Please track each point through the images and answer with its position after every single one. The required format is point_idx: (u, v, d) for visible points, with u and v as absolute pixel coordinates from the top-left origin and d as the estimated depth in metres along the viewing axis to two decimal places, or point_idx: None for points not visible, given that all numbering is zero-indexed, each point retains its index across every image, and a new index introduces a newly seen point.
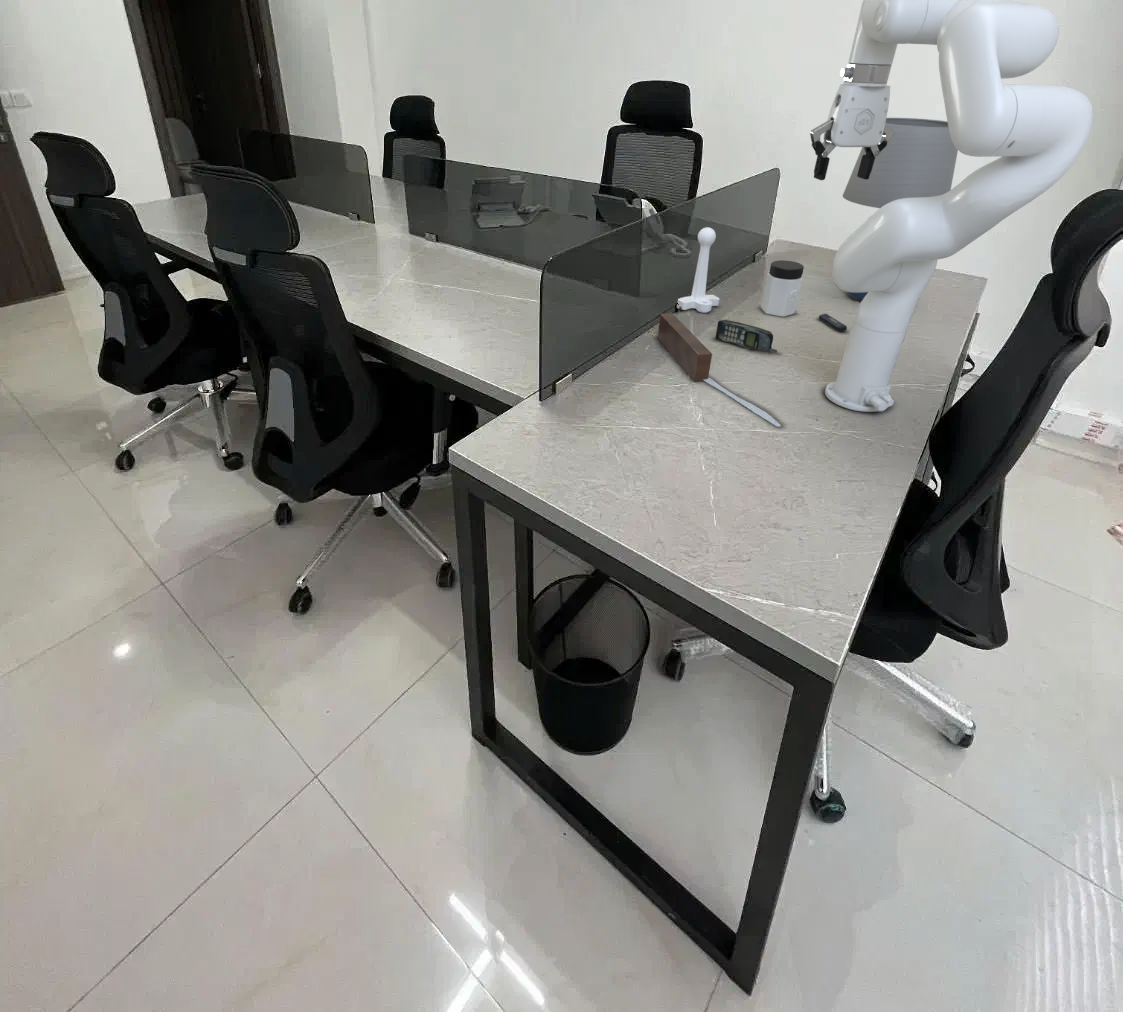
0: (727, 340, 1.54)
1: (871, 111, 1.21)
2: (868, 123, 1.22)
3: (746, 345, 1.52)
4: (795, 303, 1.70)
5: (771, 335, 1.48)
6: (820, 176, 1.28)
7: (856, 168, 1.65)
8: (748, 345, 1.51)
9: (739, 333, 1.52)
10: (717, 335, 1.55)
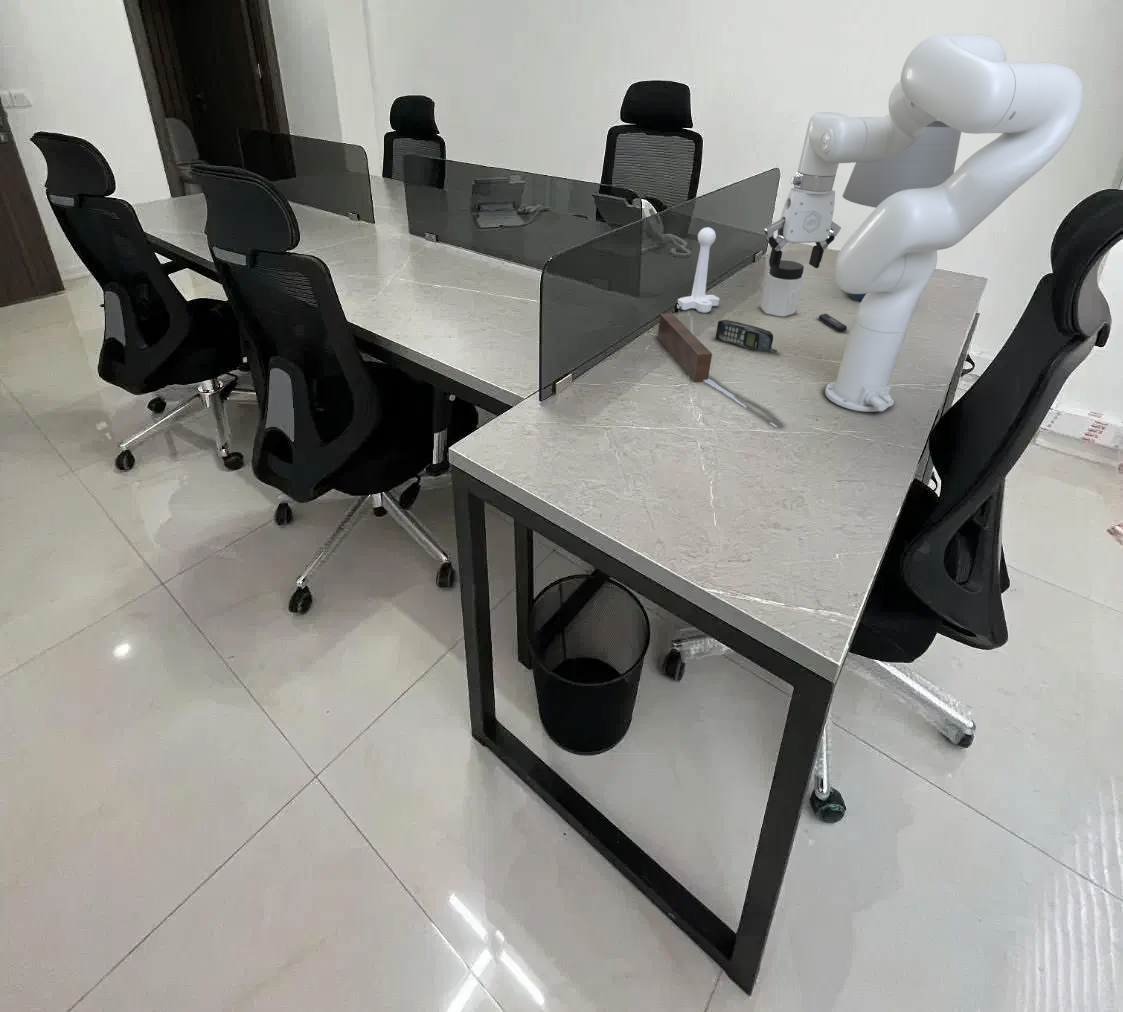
0: (727, 340, 1.54)
1: (818, 213, 1.36)
2: (816, 223, 1.37)
3: (746, 345, 1.52)
4: (795, 303, 1.70)
5: (771, 335, 1.48)
6: (774, 266, 1.43)
7: (856, 168, 1.65)
8: (748, 345, 1.51)
9: (739, 333, 1.52)
10: (717, 335, 1.55)
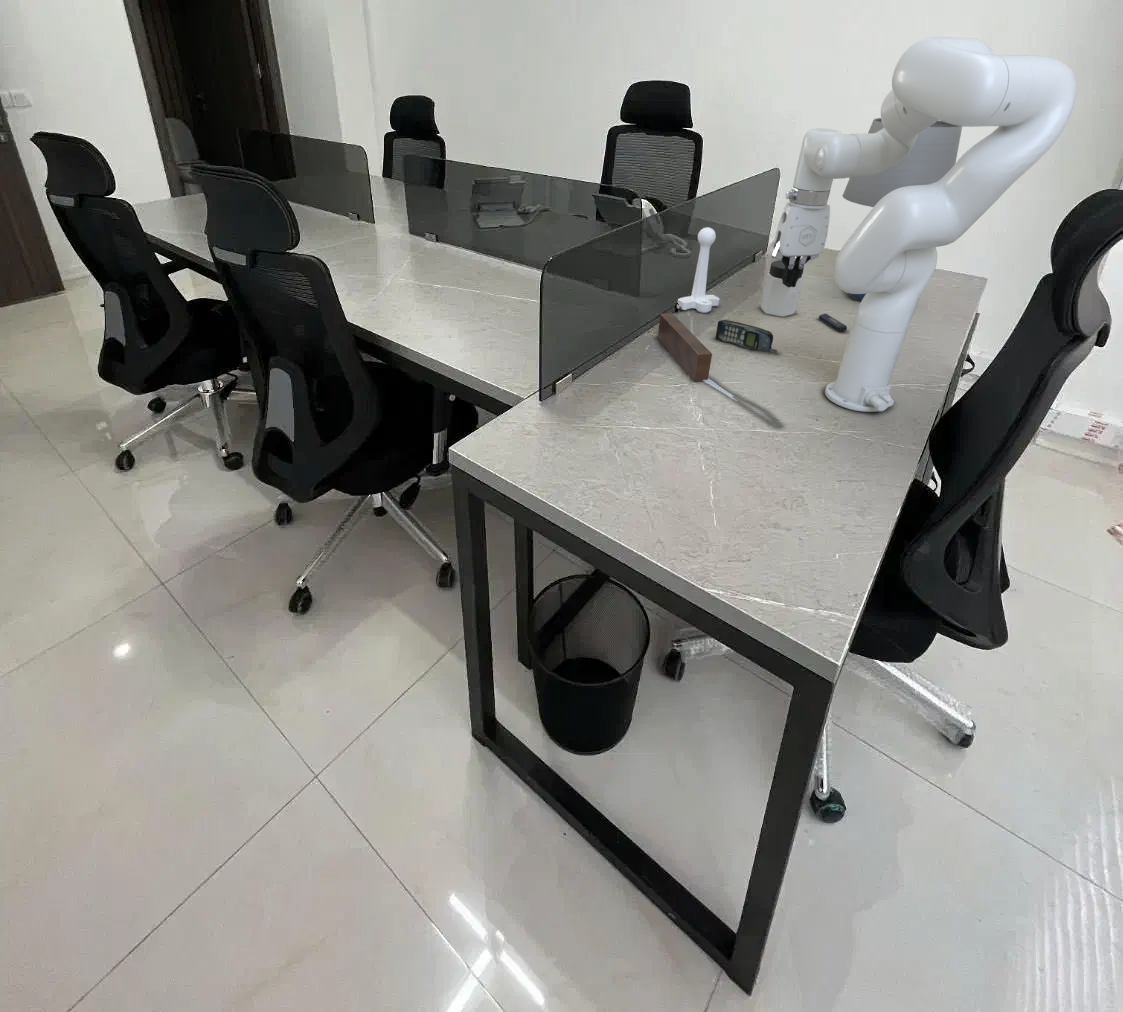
0: (727, 340, 1.54)
1: (813, 227, 1.37)
2: (811, 237, 1.39)
3: (746, 345, 1.52)
4: (795, 303, 1.70)
5: (771, 335, 1.48)
6: (787, 284, 1.46)
7: None
8: (748, 345, 1.51)
9: (739, 333, 1.52)
10: (717, 335, 1.55)
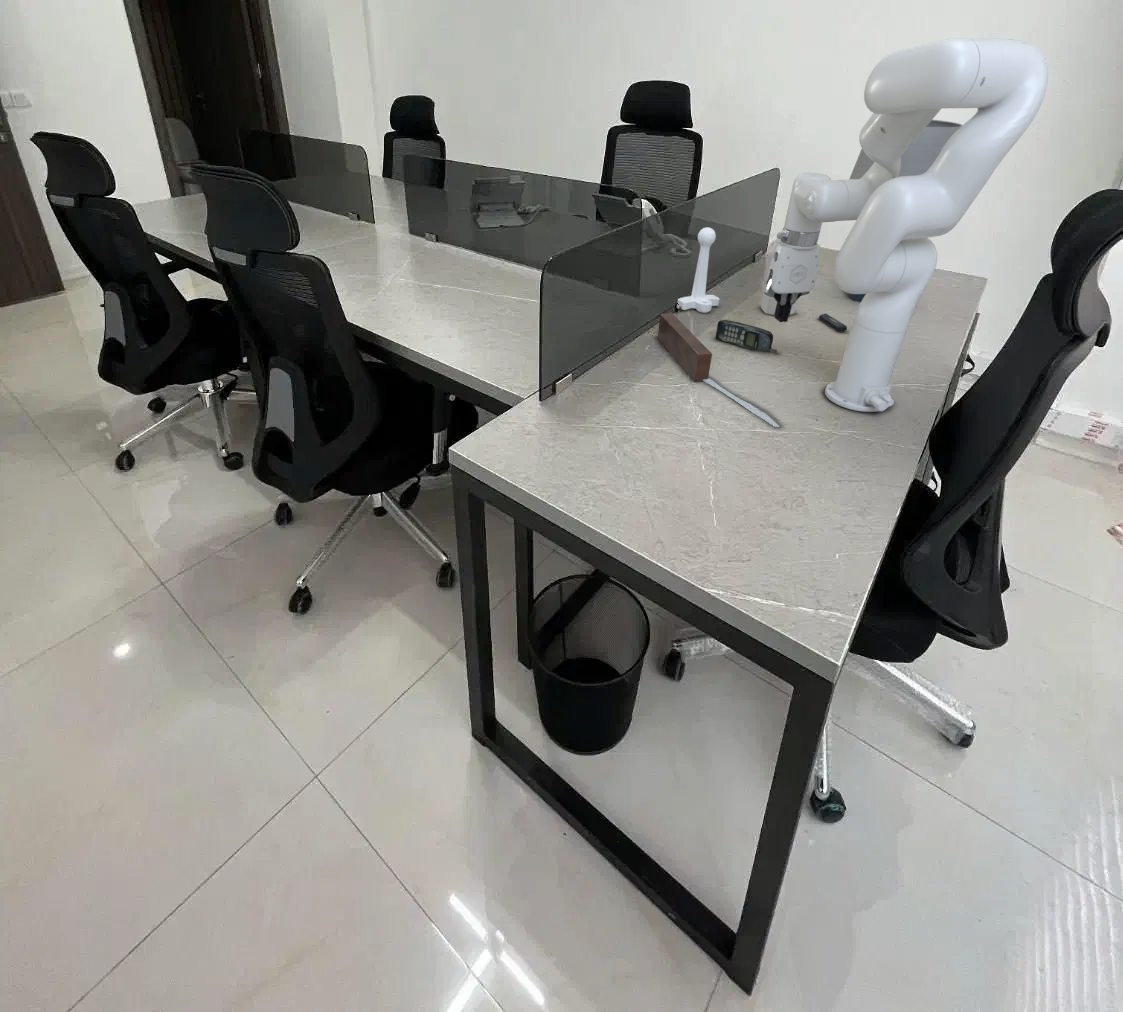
0: (727, 340, 1.54)
1: (804, 266, 1.42)
2: (802, 275, 1.43)
3: (746, 345, 1.52)
4: (795, 303, 1.70)
5: (771, 335, 1.48)
6: (779, 319, 1.51)
7: (856, 168, 1.65)
8: (748, 345, 1.51)
9: (739, 333, 1.52)
10: (717, 335, 1.55)
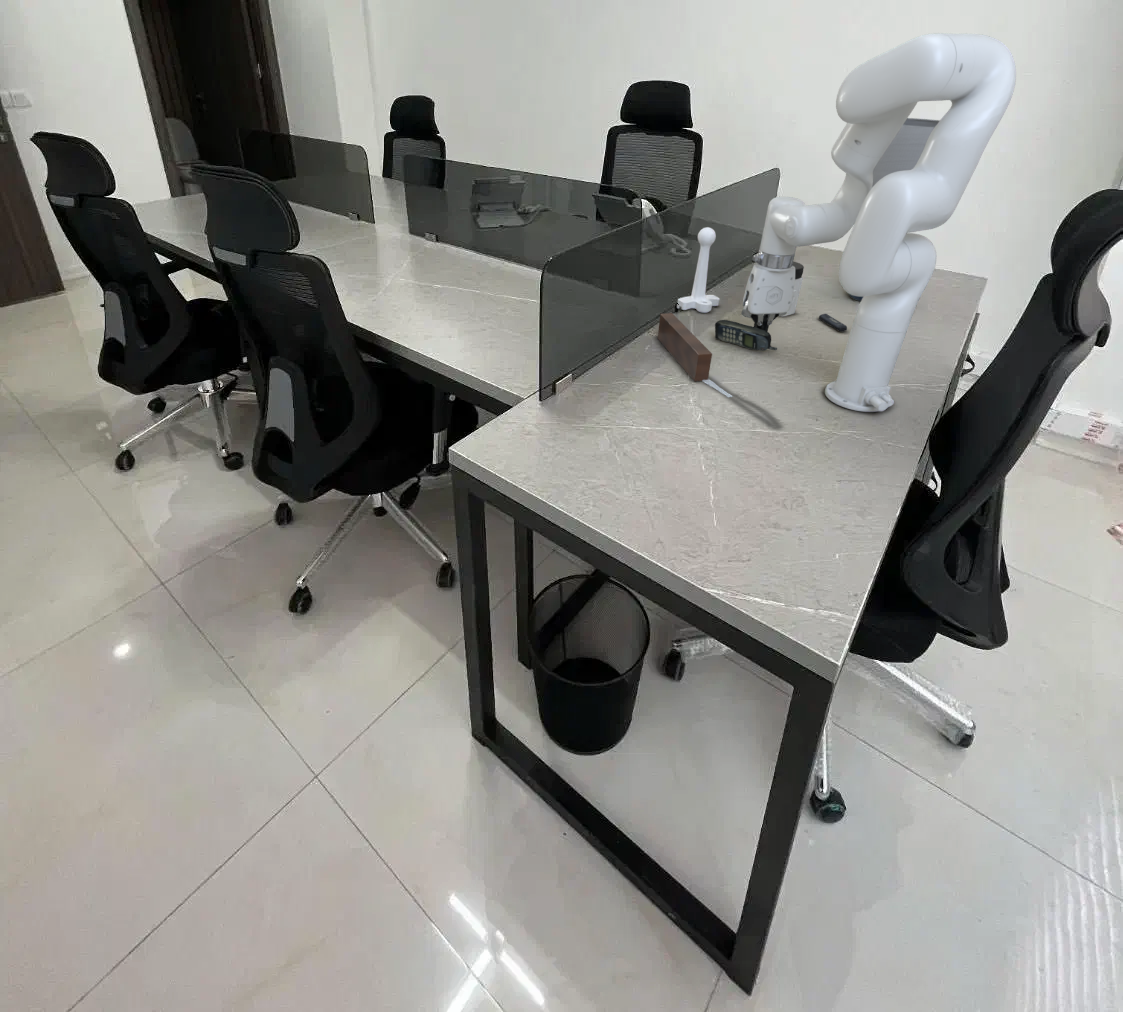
0: (726, 340, 1.54)
1: (780, 288, 1.44)
2: (778, 296, 1.45)
3: (746, 345, 1.52)
4: (795, 303, 1.70)
5: (769, 336, 1.47)
6: None
7: None
8: (747, 345, 1.51)
9: (737, 334, 1.51)
10: (716, 336, 1.55)
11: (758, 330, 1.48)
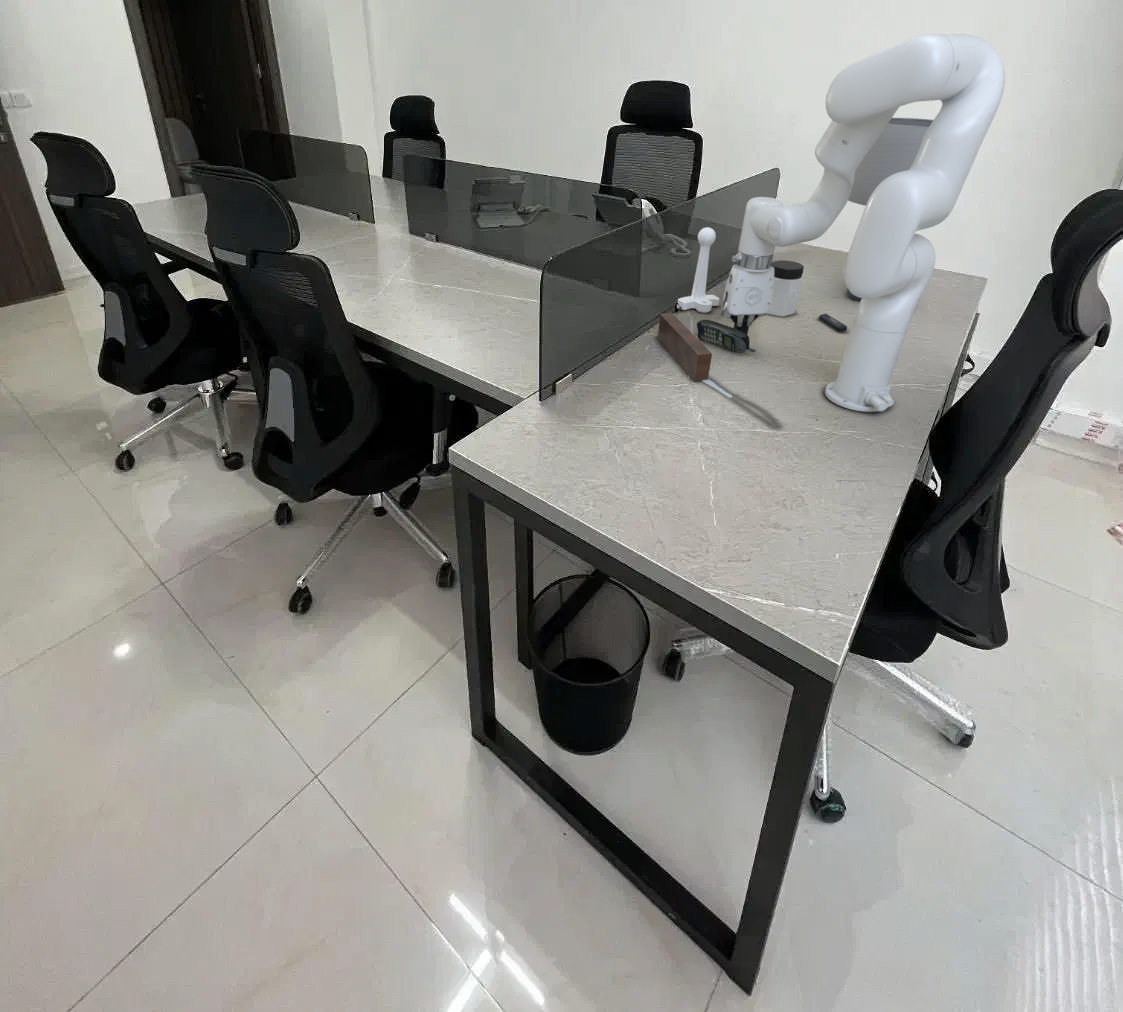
0: (708, 340, 1.54)
1: (758, 288, 1.43)
2: (757, 297, 1.44)
3: (725, 346, 1.51)
4: (795, 303, 1.70)
5: (746, 338, 1.46)
6: None
7: None
8: (727, 346, 1.51)
9: (717, 335, 1.51)
10: (699, 335, 1.55)
11: (736, 331, 1.47)
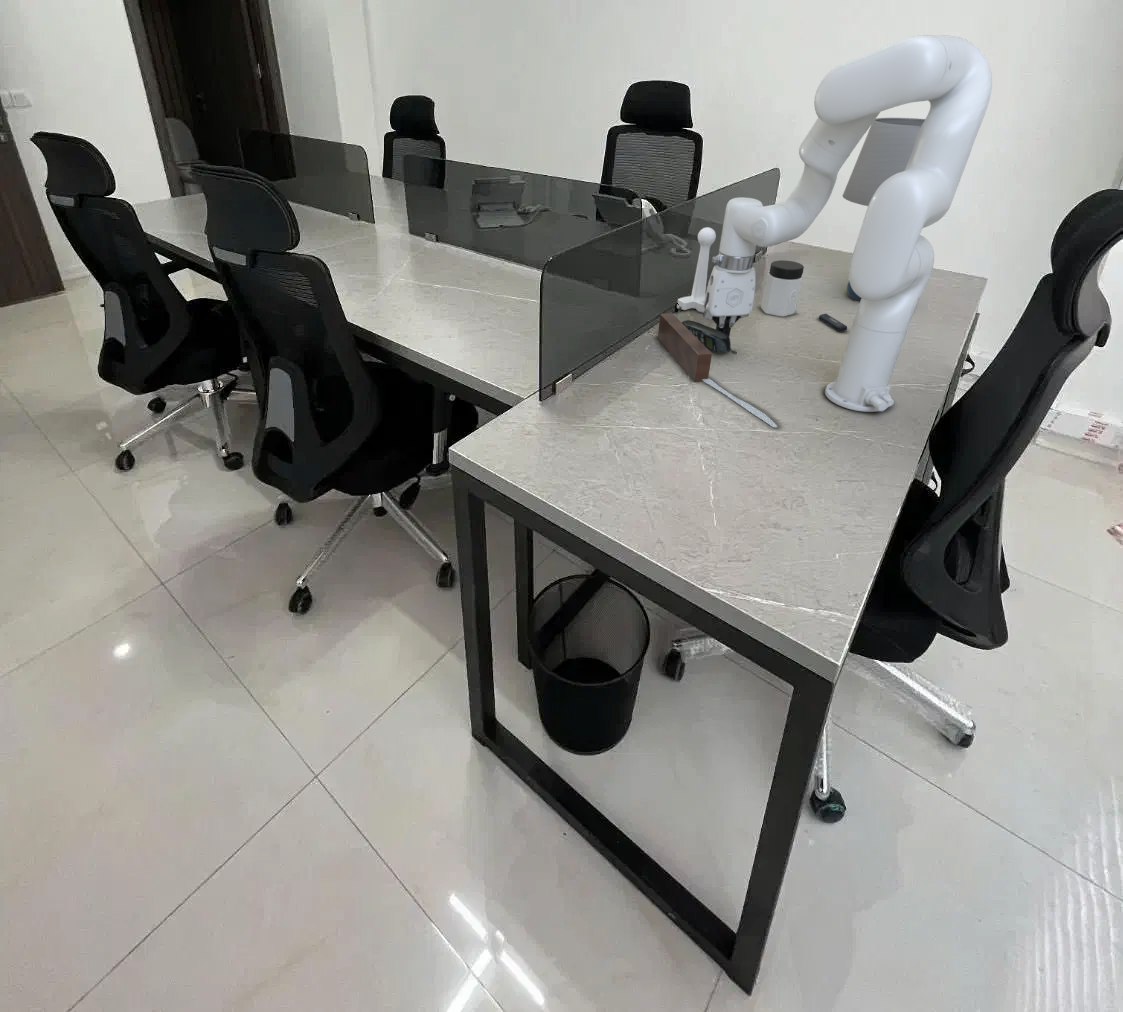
0: None
1: (740, 289, 1.42)
2: (738, 298, 1.43)
3: (707, 347, 1.50)
4: (795, 303, 1.70)
5: (727, 339, 1.45)
6: None
7: (856, 168, 1.65)
8: (708, 348, 1.50)
9: (699, 336, 1.50)
10: None
11: (717, 332, 1.46)
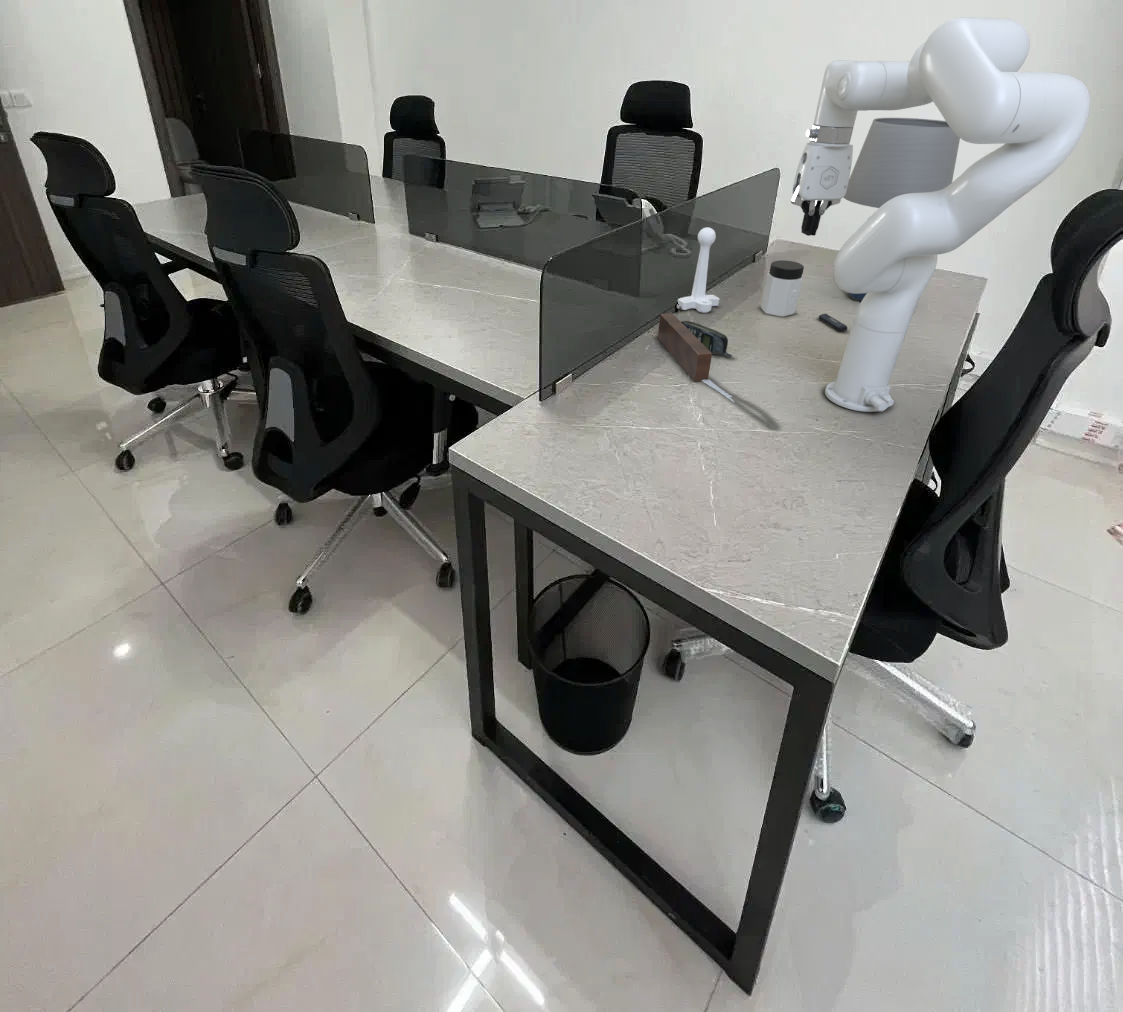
0: None
1: (835, 168, 1.30)
2: (833, 179, 1.31)
3: None
4: (795, 303, 1.70)
5: (725, 339, 1.46)
6: (807, 232, 1.38)
7: (856, 168, 1.65)
8: None
9: (696, 335, 1.50)
10: None
11: (716, 332, 1.47)
